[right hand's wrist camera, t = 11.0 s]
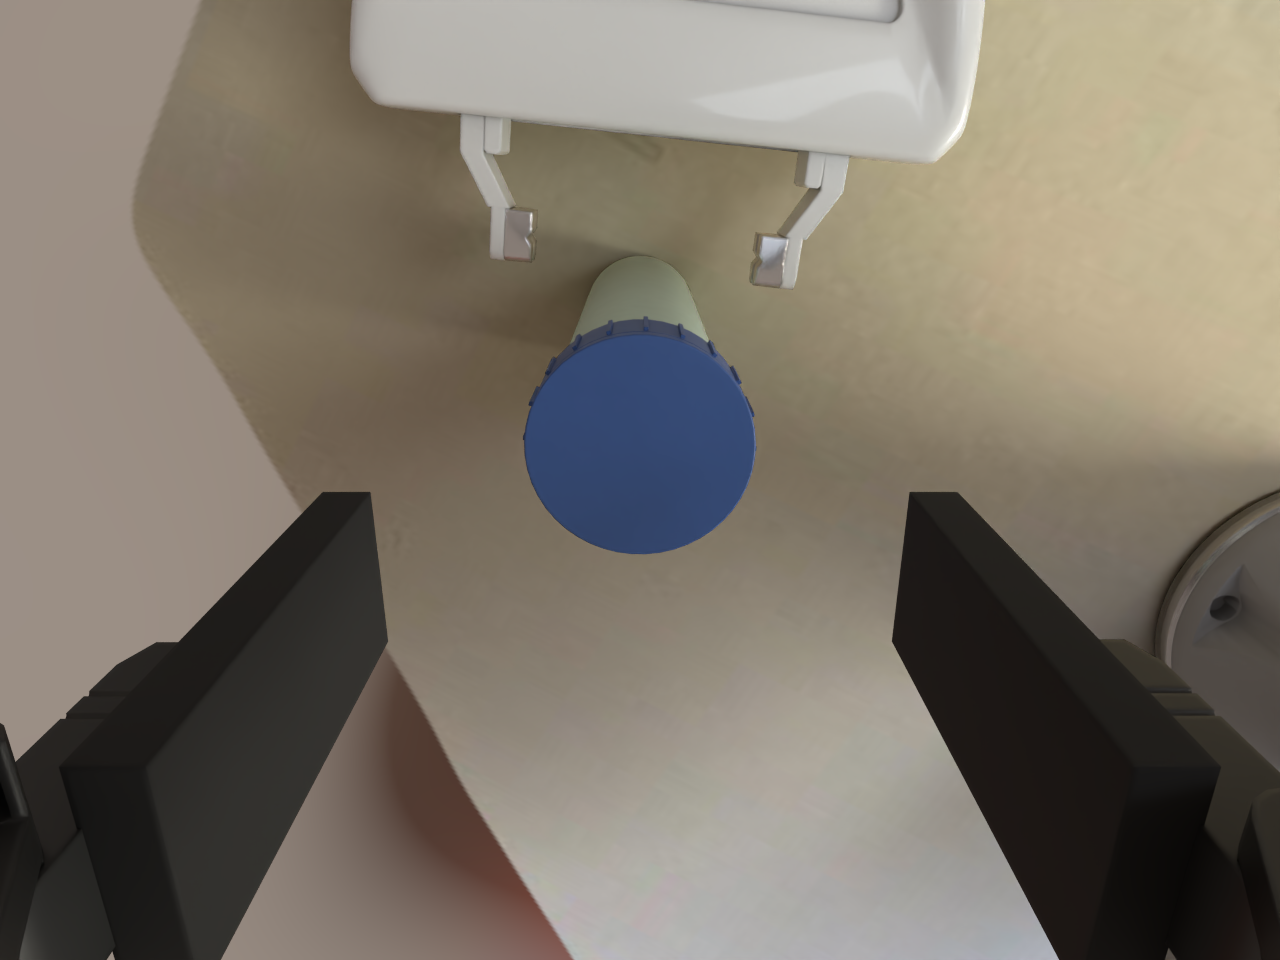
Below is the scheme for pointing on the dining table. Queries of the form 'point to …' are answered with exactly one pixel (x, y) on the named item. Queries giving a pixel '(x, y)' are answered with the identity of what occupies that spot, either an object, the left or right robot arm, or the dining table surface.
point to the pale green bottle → (640, 296)
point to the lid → (640, 437)
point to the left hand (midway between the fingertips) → (642, 273)
